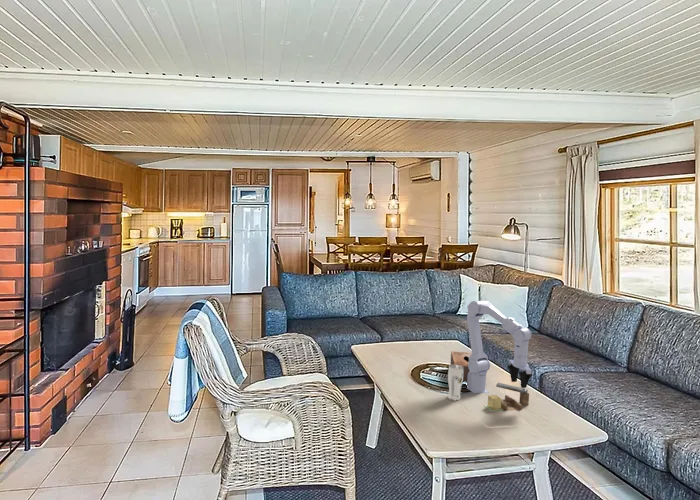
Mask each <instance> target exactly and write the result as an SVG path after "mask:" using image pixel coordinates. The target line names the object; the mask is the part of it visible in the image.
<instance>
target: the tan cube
mask: <svg viewBox="0 0 700 500" xmlns="http://www.w3.org/2000/svg"><path fill="white" fill-rule="evenodd" d="M501 399H502V398H501V397H500V396H499V395H497V394H488V395H487V405H488V407H489V408H490V409H492V410H501Z"/></svg>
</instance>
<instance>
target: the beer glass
mask: <svg viewBox="0 0 700 500" xmlns="http://www.w3.org/2000/svg"><path fill="white" fill-rule="evenodd" d="M463 375H464V371H463V367H462V366H460V365H450V364H449V365H448V371H447V381H448V394H447V399H448V400H450V401H454V402H459V400H461V399H462V395H461V393H462V392H461V390H462V386H463V385H462V383H463Z"/></svg>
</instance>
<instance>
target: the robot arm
mask: <svg viewBox="0 0 700 500" xmlns="http://www.w3.org/2000/svg"><path fill="white" fill-rule="evenodd" d="M484 315H489V316H490V317H491V318H493V319H494V320H496V321H497V322H499V323H500V324H501V328H502V329H504V330H505V331H507V333H509V334H510V335H511V336H512V338H513V340H514V343H513V344H514V348H513V349H514V350H513V359H509V360H508V364H509V365H507V369H508V372H509V375H510V380H511V382H512V383H517V381H518V377H520V388H524V389H527V387H528V383H529V381H530V379H531V377H532V376H533V372H532V371H533V370H532V369H531V368H530V365H529V364H528V353H529V342H530V341H531V339H532V331H531V330H530V329H529V328H528V327H526V326H523V325H522V324H520V323H518V322H516V321H515V318H513V317H506V316H505V315H504V314H502V313H501V312H500V311H499V310H498V309H497V308H496V307H495V306H494V305H493V303H491V302H489V301H488V300H487V299H482V300H473V301H470V302H469V304H468V305H467V314H466V320H467V328H468V335H469V342H470V349H471V353H472V354H471V355H470V357H469V364H468V368H469V370H470V371H469V373H468V376H467V385H466V386H468V387H467V388H466V389H467V390H468V391H470V392H472V393H473V394H488V393H489V391H488V390H487V389H486V386H487V385H486V383H487V373H488V371H489V370H490V368H491V363H490V360H489V358H488V355H487V354H486V353H485V352H484V348H483V347H484V346H483V341H482V332H481V327H480V326H481V325H480V319H481V318H482V317H483V316H484ZM529 340H530V341H529ZM520 370H521V371H520ZM518 374H519V375H518Z"/></svg>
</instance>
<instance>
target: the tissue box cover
mask: <svg viewBox="0 0 700 500" xmlns="http://www.w3.org/2000/svg"><path fill="white" fill-rule="evenodd" d="M471 354H472V352H468V351H467V352H465V351H454V350H453V351H452V350H451V351H450V364H449V365H460V366H462V367H463V371H464V375H463V381H466V382H467V376H468V373H469V371H470V370H469V368H468V364H469V357H470V355H471Z"/></svg>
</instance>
